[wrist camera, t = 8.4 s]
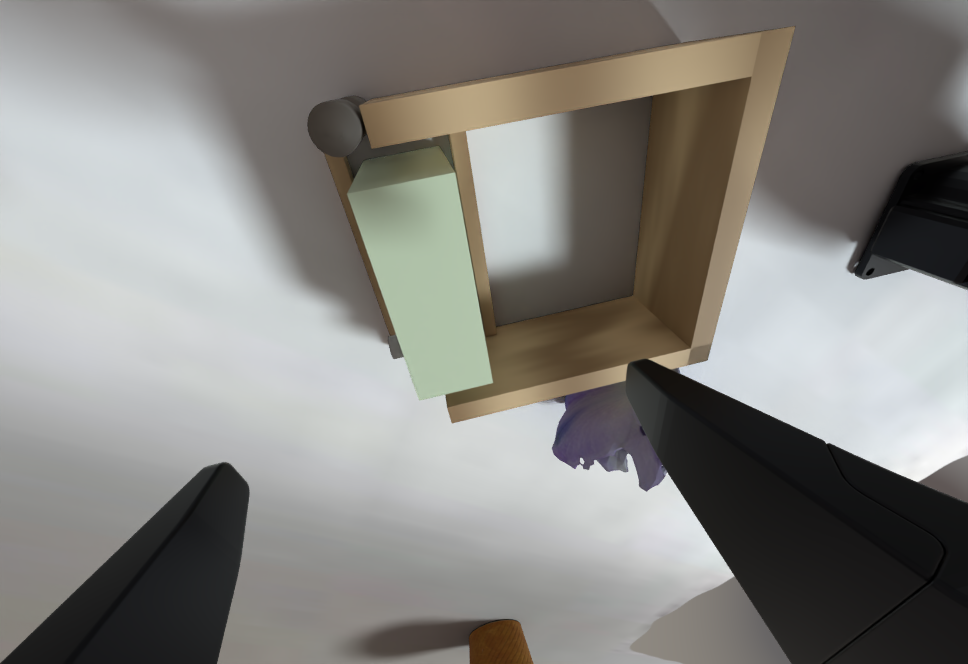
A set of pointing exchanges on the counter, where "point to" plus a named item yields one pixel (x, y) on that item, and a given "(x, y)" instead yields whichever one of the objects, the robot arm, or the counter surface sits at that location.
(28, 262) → the counter surface
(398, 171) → the pale green block
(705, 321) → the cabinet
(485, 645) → the disposable coffee cup
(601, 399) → the flower
